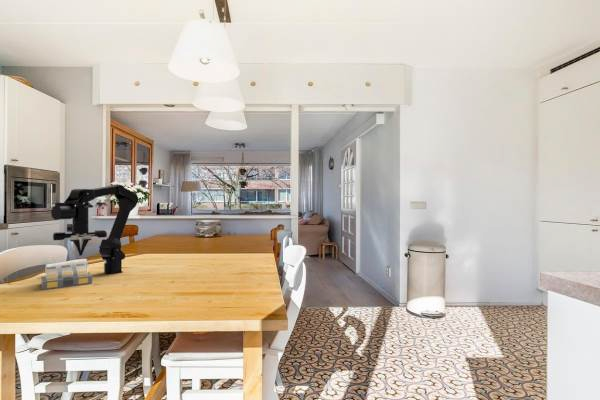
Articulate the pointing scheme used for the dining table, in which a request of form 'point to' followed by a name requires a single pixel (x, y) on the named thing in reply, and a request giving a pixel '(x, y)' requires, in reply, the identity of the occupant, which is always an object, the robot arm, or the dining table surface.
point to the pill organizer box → (65, 281)
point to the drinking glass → (72, 263)
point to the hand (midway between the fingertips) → (80, 255)
